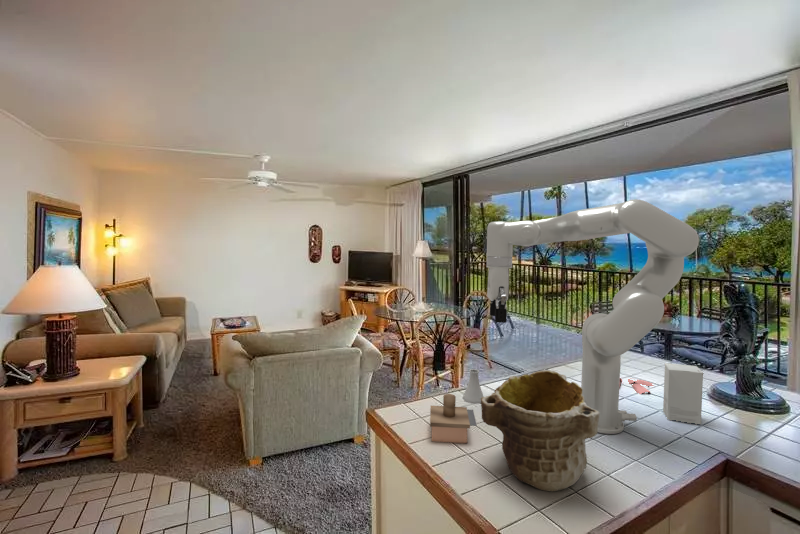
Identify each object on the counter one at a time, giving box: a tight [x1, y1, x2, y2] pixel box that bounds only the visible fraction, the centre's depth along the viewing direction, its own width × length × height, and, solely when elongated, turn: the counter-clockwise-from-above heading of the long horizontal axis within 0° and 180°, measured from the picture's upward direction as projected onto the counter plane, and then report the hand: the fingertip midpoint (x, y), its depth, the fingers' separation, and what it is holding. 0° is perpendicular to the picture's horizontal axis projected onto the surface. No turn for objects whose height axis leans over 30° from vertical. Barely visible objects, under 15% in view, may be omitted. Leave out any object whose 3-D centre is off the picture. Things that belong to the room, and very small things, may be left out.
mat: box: [467, 408, 477, 427], centre depth 109 cm, size 10×10×1 cm
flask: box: [462, 368, 485, 405], centre depth 121 cm, size 7×7×10 cm
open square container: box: [431, 426, 468, 444], centre depth 99 cm, size 9×9×4 cm
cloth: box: [619, 377, 654, 395], centre depth 135 cm, size 20×22×2 cm
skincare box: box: [662, 362, 704, 425], centre depth 109 cm, size 8×7×16 cm
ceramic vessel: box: [480, 369, 600, 492], centre depth 82 cm, size 23×24×25 cm
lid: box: [429, 393, 471, 430], centre depth 99 cm, size 10×10×6 cm
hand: (497, 318), depth 113 cm, fingers open, 9 cm apart
